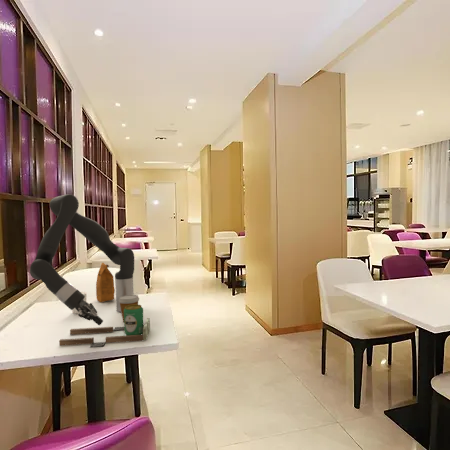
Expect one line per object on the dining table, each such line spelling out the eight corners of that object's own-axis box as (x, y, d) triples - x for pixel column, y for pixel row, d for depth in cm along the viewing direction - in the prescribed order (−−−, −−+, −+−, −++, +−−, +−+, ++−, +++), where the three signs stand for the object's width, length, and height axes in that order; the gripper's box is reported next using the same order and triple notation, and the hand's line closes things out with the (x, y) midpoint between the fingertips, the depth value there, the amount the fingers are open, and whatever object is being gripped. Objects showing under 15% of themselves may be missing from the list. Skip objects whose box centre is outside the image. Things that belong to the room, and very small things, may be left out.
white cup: (87, 313, 188) (86, 294, 187) (71, 315, 185) (70, 296, 184) (87, 309, 195) (86, 291, 195) (71, 311, 192) (70, 292, 192)
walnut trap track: (74, 330, 161) (73, 319, 161) (151, 326, 164) (150, 315, 164) (55, 349, 139) (55, 336, 139) (144, 344, 142) (143, 331, 142)
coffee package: (111, 296, 222) (110, 261, 221) (116, 300, 212) (114, 263, 210) (95, 298, 218) (93, 263, 217) (98, 303, 207) (96, 265, 206)
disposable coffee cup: (143, 319, 175) (142, 294, 174) (133, 325, 166) (132, 299, 165) (126, 318, 178) (125, 294, 177) (115, 324, 168) (114, 298, 168)
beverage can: (121, 337, 151) (120, 309, 150) (129, 330, 159) (128, 303, 158) (139, 337, 150) (138, 309, 149) (146, 331, 157) (145, 304, 157)
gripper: (71, 293, 143) (103, 321, 145) (81, 286, 156) (111, 312, 158) (57, 306, 143) (90, 335, 144) (69, 298, 156) (99, 324, 158)
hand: (101, 323), depth 151 cm, fingers closed
